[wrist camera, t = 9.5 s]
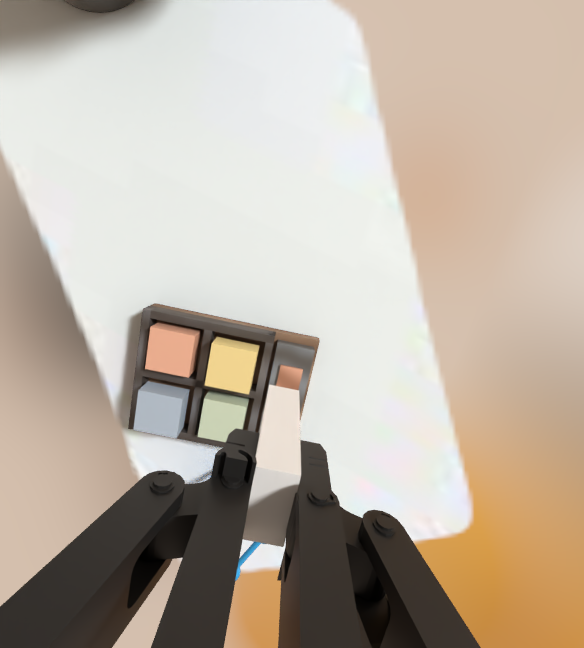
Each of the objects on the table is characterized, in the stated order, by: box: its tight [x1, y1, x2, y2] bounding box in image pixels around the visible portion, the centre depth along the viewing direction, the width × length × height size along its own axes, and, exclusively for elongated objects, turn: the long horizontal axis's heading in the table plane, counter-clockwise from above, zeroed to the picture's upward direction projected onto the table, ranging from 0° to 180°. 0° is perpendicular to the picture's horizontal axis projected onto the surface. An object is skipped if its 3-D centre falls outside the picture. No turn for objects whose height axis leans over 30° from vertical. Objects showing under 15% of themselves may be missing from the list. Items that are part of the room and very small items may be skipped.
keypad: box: [128, 304, 319, 447], centre depth 50 cm, size 17×23×4 cm
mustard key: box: [205, 337, 259, 394], centre depth 46 cm, size 6×6×3 cm
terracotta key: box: [145, 322, 201, 378], centre depth 47 cm, size 6×6×3 cm
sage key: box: [198, 390, 249, 442], centre depth 49 cm, size 6×6×3 cm
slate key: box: [133, 381, 189, 438], centre depth 47 cm, size 6×6×3 cm
